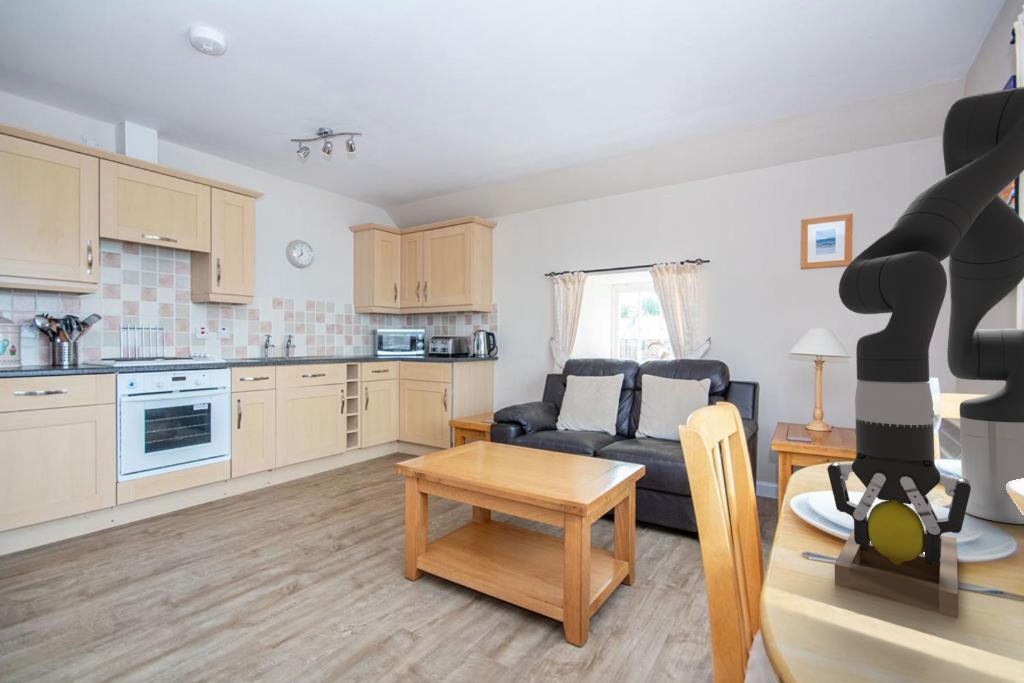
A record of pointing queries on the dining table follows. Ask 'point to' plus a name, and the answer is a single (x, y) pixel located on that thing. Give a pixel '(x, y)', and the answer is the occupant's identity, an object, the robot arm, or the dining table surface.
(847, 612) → the dining table surface
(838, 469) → the robot arm
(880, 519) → the lemon
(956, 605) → the wooden tray
